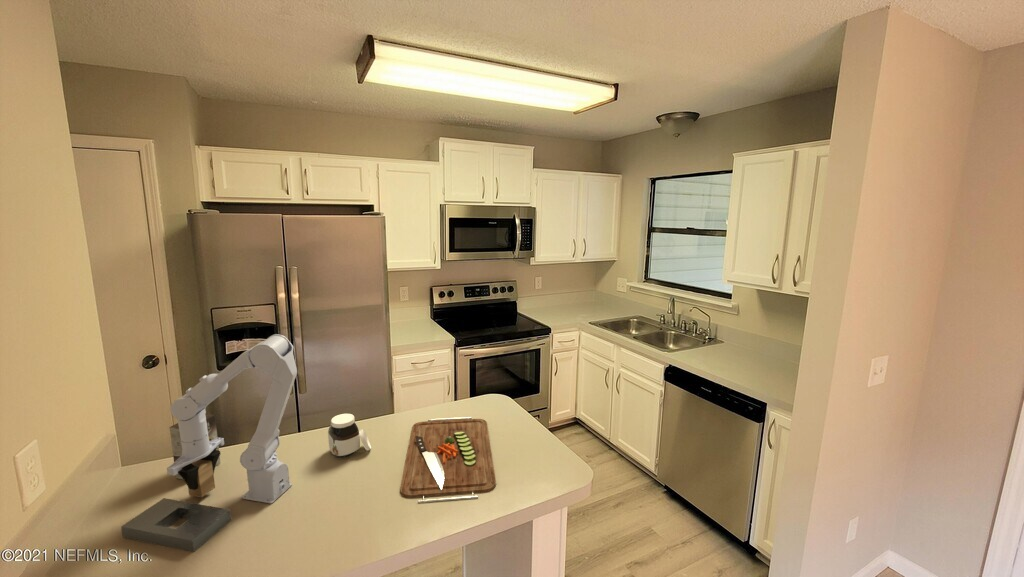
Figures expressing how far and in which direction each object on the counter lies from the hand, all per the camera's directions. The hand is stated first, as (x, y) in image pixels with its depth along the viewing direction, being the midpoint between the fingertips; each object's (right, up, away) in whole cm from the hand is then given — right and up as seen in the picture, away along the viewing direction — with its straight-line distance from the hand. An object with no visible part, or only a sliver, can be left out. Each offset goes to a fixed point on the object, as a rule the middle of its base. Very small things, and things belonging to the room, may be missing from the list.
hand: (201, 483), depth 111 cm
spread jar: (+32, 0, +23) cm, 39 cm away
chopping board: (+64, -2, +22) cm, 67 cm away
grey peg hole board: (+3, -6, -11) cm, 13 cm away
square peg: (0, -2, 0) cm, 2 cm away
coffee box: (-9, -2, +12) cm, 15 cm away
